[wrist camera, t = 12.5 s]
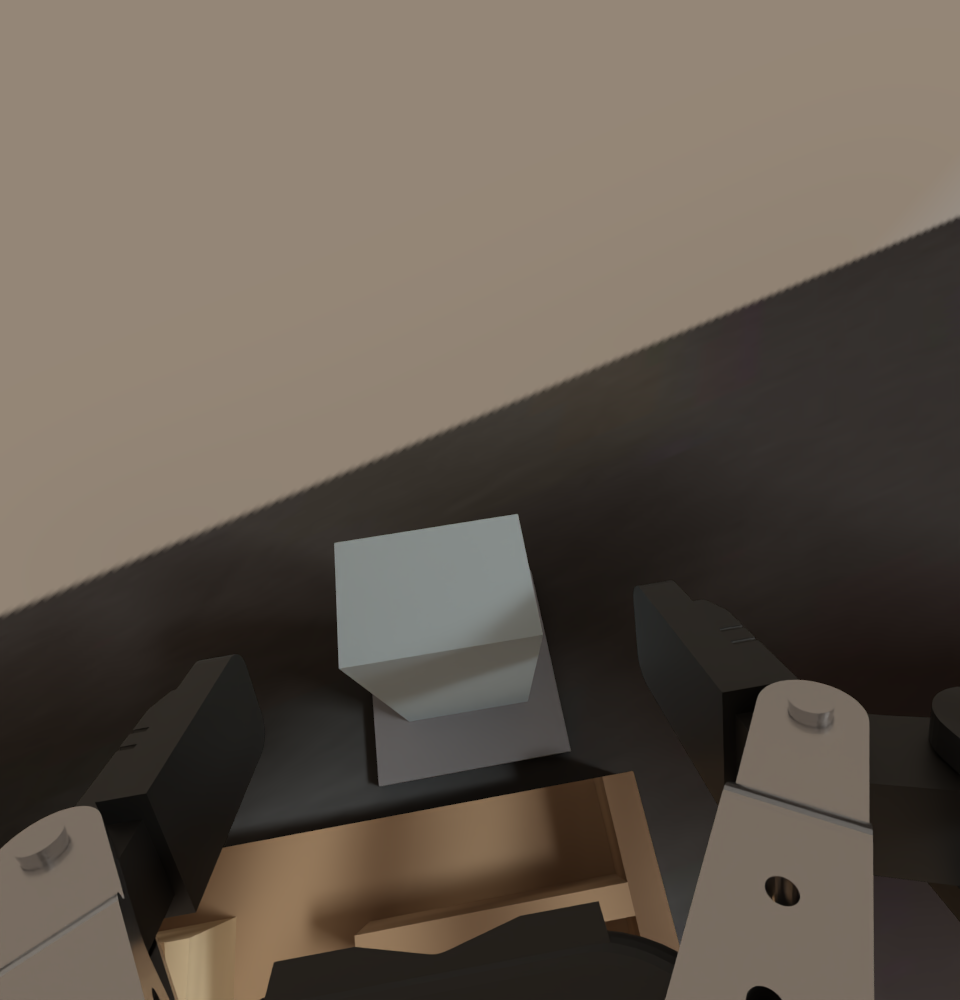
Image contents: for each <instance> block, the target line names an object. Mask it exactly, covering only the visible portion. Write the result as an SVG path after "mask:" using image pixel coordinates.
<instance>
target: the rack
mask: <svg viewBox="0 0 960 1000" xmlns="http://www.w3.org/2000/svg"><path fill="white" fill-rule="evenodd" d="M596 901H599V904H600V907H601V911H602V914H603V918H604V921H605V925H606V928H607V930H608V931H617V932H624V933H628V934H633V935H637V936H641V937H644V938H647V939H650V940H653V941H655V942H658V943H661V944H663V945H665V946H667V947H669V948H671V949H673V950H675V951H677V952H678V951H679V948H680V946H679V942H678V939H677V935H676V931H675V927H674V923H673V920H672V916H671V912H670V908H669V905H668V901H667V897H666V893H665V889H664V886H663V882H662V878H661V874H660V871H659V867H658V863H657V859H656V855H655V852H654V848H653V844H652V840H651V837H650V833H649V829H648V825H647V821H646V818H645V814H644V810H643V806H642V803H641V799H640V795H639V791H638V787H637V784H636V780H635V776H634V772H633V771H630V772H625V773H619V774H614V775H608V776H603V777H598V778H592V779H587V780H582V781H576V782H571V783H566V784H560V785H555V786H550V787H544V788H539V789H534V790H528V791H523V792H518V793H512V794H507V795H502V796H496V797H491V798H486V799H480V800H475V801H470V802H464V803H459V804H454V805H448V806H443V807H438V808H432V809H427V810H422V811H416V812H411V813H406V814H400V815H395V816H390V817H384V818H379V819H374V820H368V821H363V822H358V823H352V824H347V825H342V826H336V827H331V828H326V829H320V830H315V831H310V832H304V833H299V834H294V835H288V836H283V837H278V838H272V839H267V840H262V841H256V842H251V843H246V844H240V845H235V846H229V847H224V848H222V850H221V853H220V855H219V858H218V860H217V863H216V865H215V868H214V870H213V872H212V875H211V877H210V880H209V882H208V885H207V887H206V889H205V892H204V894H203V897H202V899H201V902H200V904H199V906H198V909H197V911H196V913H191V914H185V915H180V916H174V917H169V918H164V920H163V922H162V924H161V926H160V928H159V930H158V932H160V931H165V930H170V929H176V928H181V927H186V926H191V925H196V924H202V923H207V922H212V921H217V920H222V919H228V918H233V917H236V943H235V975H234V1000H260V999H262V998H264V997H265V995H266V991H267V987H268V983H269V979H270V975H271V971H272V967H273V963H274V962H276V961H281V960H287V959H292V958H297V957H303V956H308V955H313V954H319V953H324V952H329V951H335V950H340V949H345V948H351V947H362V948H372V949H382V950H392V951H402V952H412V953H422V954H438V953H442V952H445V951H447V950H449V949H451V948H454V947H456V946H458V945H460V944H462V943H464V942H466V941H468V940H470V939H472V938H475V937H477V936H479V935H481V934H483V933H485V932H487V931H489V930H491V929H493V928H495V927H498V926H500V925H502V924H504V923H506V922H508V921H510V920H512V919H514V918H516V917H518V916H522V915H527V914H532V913H538V912H543V911H548V910H554V909H559V908H564V907H570V906H575V905H580V904H586V903H591V902H596Z"/></svg>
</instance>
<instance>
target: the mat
mask: <svg viewBox="0 0 960 1000" xmlns="http://www.w3.org/2000/svg"><path fill="white" fill-rule="evenodd" d="M530 575H531V579H532V584H533V589H534V594H535V598H536V603H537V608H538V613H539V617H540V622H541V627H542V632H543V637H542V642H541V646H540V650H539V655H538V659H537V663H536V668H535V672H534V676H533V681H532V685H531V689H530V694H529V698H528V701H527V702H521V703H515V704H510V705H504V706H498V707H492V708H486V709H480V710H474V711H469V712H463V713H457V714H451V715H445V716H439V717H433V718H428V719H422V720H416V721H410V722H409V721H408V720H407V719H405V718H404V717H403V716H401V715H400V714H399V713H397V712H396V711H395V710H393V709H392V708H391V707H389V706H388V705H387V704H385V703H384V702H383V701H381V700H380V699H379V698H377V697H376V696H375V695H373V694H372V697H373V711H374V725H375V739H376V753H377V766H378V780H379V786H387V785H393V784H398V783H403V782H409V781H414V780H420V779H425V778H430V777H436V776H441V775H447V774H452V773H457V772H463V771H468V770H474V769H479V768H484V767H490V766H495V765H501V764H506V763H511V762H517V761H522V760H528V759H533V758H538V757H544V756H549V755H555V754H560V753H565V752H570V751H571V749H570V744H569V740H568V735H567V731H566V726H565V722H564V717H563V713H562V708H561V704H560V699H559V695H558V690H557V686H556V681H555V676H554V672H553V667H552V663H551V658H550V654H549V649H548V645H547V640H546V636H545V631H544V627H543V622H542V618H541V613H540V609H539V604H538V600H537V595H536V591H535V586H534V581H533V577H532V572H531V571H530Z"/></svg>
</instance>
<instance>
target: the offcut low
mask: <svg viewBox="0 0 960 1000" xmlns="http://www.w3.org/2000/svg"><path fill="white" fill-rule="evenodd" d="M156 937H157V939H158V941H159V943H162V942H164V946H165V960H166V963H167V966H168V969H169V972H170V975H171V978H172V981H173V984H174V987H175V991H176V994H177V997H178V1000H234V975H235V943H236V917H233V918H228V919H222V920H217V921H212V922H207V923H202V924H196V925H191V926H186V927H181V928H176V929H170V930H165V931H160V932H158V933H157V935H156Z"/></svg>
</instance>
